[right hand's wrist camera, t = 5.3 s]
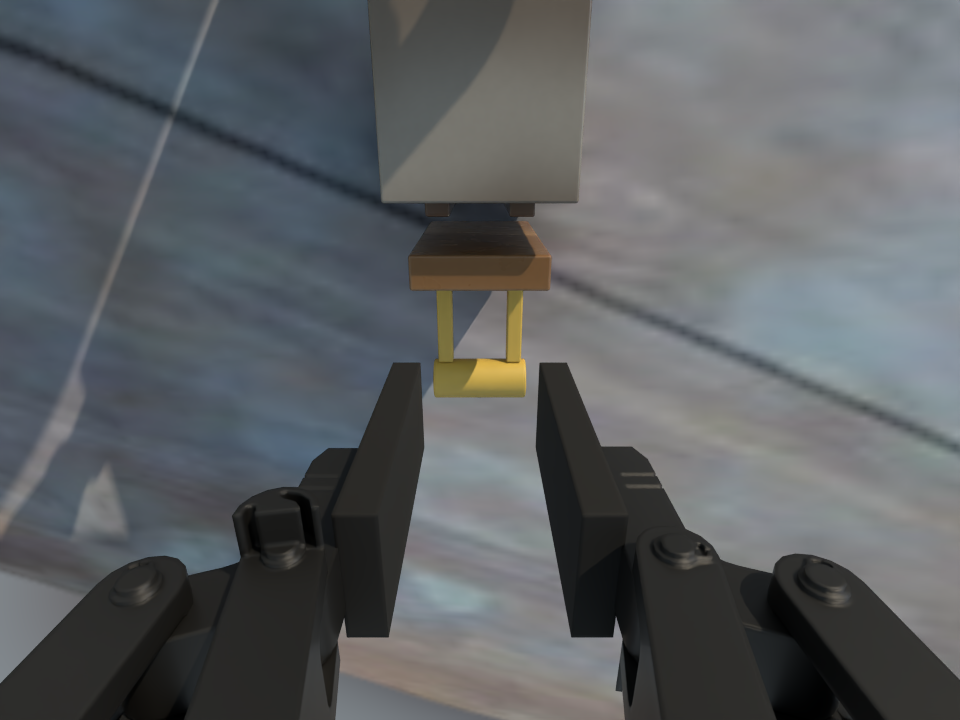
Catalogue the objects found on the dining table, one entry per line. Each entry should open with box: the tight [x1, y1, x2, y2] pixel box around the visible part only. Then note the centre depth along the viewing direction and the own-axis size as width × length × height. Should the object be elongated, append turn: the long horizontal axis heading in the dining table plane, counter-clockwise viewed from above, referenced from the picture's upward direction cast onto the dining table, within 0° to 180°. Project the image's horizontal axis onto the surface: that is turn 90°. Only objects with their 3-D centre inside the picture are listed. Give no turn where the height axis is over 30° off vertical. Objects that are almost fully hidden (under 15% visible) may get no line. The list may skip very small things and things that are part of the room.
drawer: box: [408, 203, 552, 397], centre depth 19 cm, size 25×5×9 cm, turn 0°
